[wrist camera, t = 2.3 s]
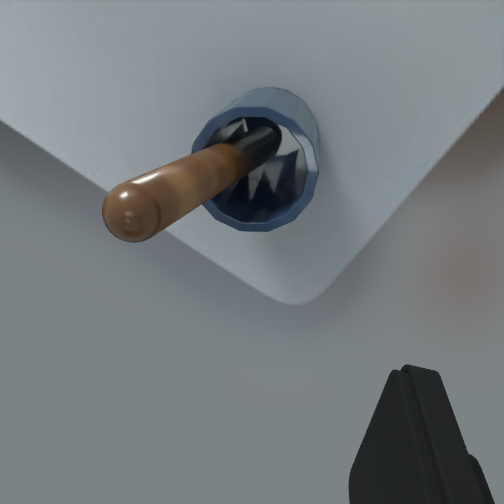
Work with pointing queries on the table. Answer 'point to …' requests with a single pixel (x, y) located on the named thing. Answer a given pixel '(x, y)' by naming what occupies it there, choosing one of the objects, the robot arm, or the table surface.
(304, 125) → the holder
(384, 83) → the table surface
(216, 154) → the stick
